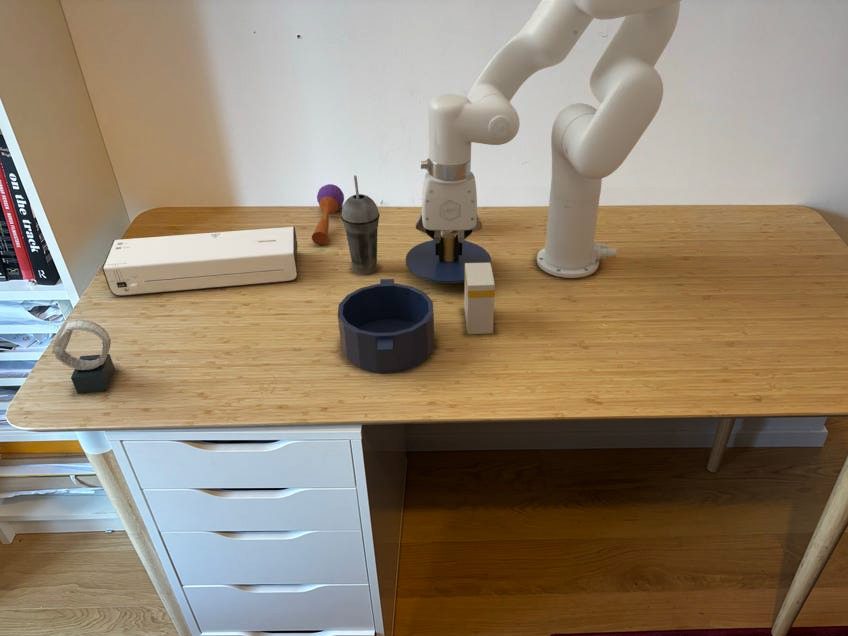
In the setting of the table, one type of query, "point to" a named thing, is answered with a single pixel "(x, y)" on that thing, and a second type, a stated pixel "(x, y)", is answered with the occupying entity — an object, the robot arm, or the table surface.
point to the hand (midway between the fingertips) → (448, 257)
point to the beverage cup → (361, 231)
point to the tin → (386, 327)
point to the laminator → (201, 261)
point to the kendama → (327, 210)
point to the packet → (479, 298)
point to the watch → (86, 358)
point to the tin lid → (444, 260)
